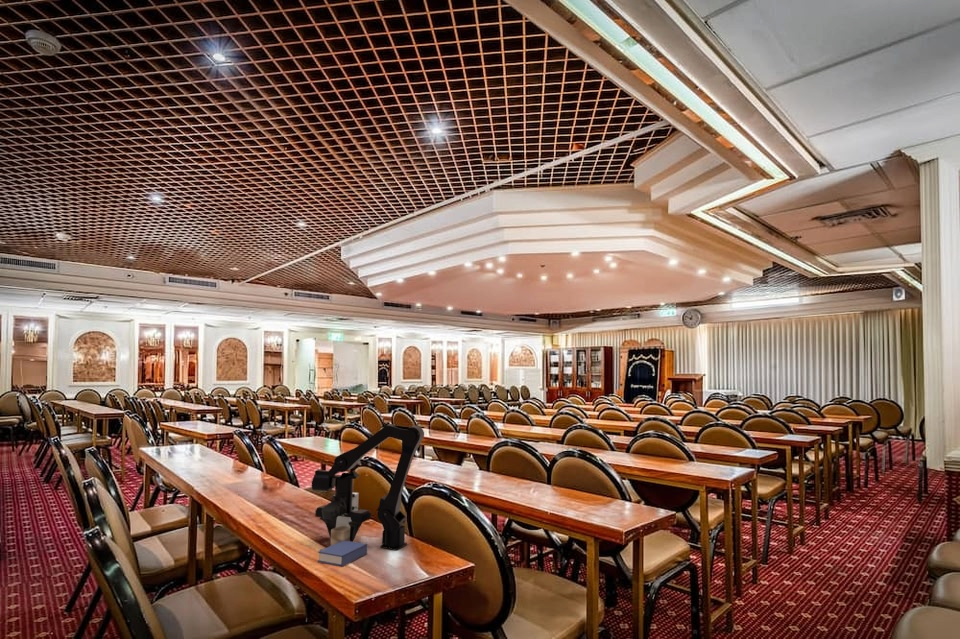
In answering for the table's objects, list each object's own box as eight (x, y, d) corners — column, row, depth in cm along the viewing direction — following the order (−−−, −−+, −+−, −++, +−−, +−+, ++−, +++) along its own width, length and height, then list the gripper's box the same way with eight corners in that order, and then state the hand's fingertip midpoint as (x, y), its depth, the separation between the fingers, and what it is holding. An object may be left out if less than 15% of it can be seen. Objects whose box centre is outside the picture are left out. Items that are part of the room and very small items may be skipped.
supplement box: (348, 533, 181) (350, 496, 182) (329, 532, 182) (331, 495, 184) (357, 528, 188) (359, 492, 189) (339, 526, 189) (340, 491, 191)
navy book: (366, 554, 160) (367, 544, 160) (342, 566, 149) (342, 555, 149) (343, 550, 163) (343, 540, 164) (317, 562, 152) (318, 551, 153)
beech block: (352, 542, 171) (353, 527, 172) (342, 547, 166) (343, 531, 167) (340, 540, 173) (340, 525, 174) (330, 545, 168) (331, 529, 169)
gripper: (304, 493, 168) (302, 543, 166) (351, 499, 161) (349, 551, 159) (327, 487, 178) (325, 534, 176) (372, 492, 171) (370, 541, 169)
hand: (341, 540), depth 170 cm, fingers open, 8 cm apart
